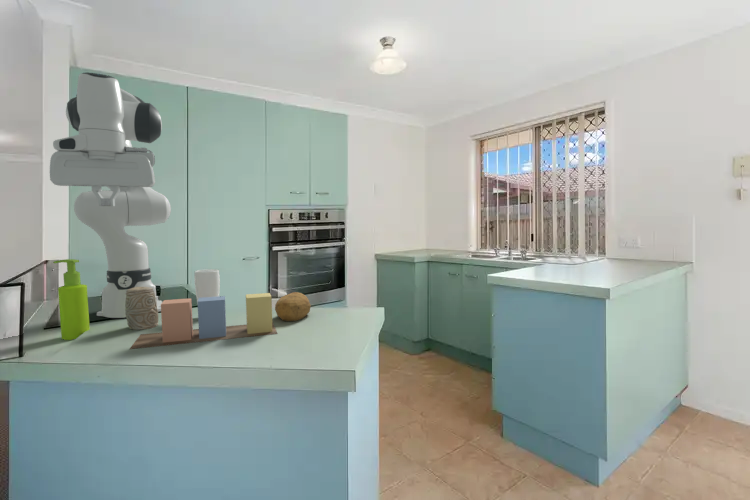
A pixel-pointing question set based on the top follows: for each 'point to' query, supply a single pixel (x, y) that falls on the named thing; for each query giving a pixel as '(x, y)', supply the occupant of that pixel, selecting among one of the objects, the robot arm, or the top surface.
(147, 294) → the carving
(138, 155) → the robot arm
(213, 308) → the slate block
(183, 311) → the terracotta block
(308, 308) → the potato
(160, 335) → the walnut board
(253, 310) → the ochre block
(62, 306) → the soap dispenser
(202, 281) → the white rectangular block
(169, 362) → the top surface
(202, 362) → the top surface
